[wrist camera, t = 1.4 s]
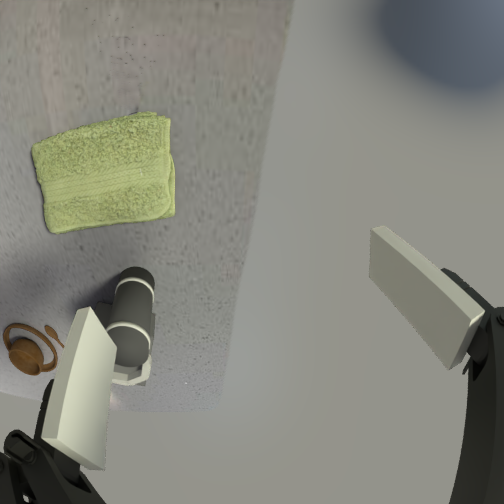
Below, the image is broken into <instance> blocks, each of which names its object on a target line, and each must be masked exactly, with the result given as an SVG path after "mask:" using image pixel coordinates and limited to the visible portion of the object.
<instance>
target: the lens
mask: <svg viewBox="0 0 504 504" xmlns="http://www.w3.org/2000/svg"><path fill="white" fill-rule="evenodd" d="M154 284H155V282H154V278H153V276H152V275H151V273H150V272H149V271H147V270H146V269H144V268H141V267H130V268H127V269H126V270H124V271H123V272H122V274H121V276H120V279H119V283H118V285H117V287H116V291H115V297H114V301H113V305H112V309H111V313H110V317H109V321H108V325H107V329H106V332H107V333H108V335H109V336H110V338H111V339H112V341H113V342H114V344H115V345H116V347H117V351H116V358H115V364H117V365H120V366H123V367H137V366H140V365H142V364H144V363H145V362H146V361H147V359H148V357H149V349H150V327H151V315H152V304H153V301H154Z"/></svg>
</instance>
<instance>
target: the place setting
mask: <svg viewBox="0 0 504 504" xmlns="http://www.w3.org/2000/svg"><path fill="white" fill-rule="evenodd" d="M11 328H21V329H25V330H27V331H30V332H32V333H33V334H35V335H37V336H38V337H39V338H41V339H42V340H43V341H44V342H45V343H46V344H47V345H48V346H49V347H50V349H51V350H52V352H53V354H54V359H53V361H52V362H51V363H49V364H45V365H43V362H44V357H43V354H42V352H41V350H40V349H39V347H38V345H37V344H36V343H35V342H33V341H31V340H29V339H18V340H16V341H15V342H14V343H13V345H12V344H11V342H10V339H9V331H10V330H11ZM45 330H46V332H47V334H48V335H49V336H51V337H52V338H54V339H55V340H56V341H57V342H58V343H59V344H60V345H61V346H62V347H63V348H64V345H63V344H62V343H61V342H60V341H59V339H58V336H57V333H56V332H55V331H54V330H53V329H52V328H51V327H49V326H45ZM3 340H4V343H5V346H6V348H7V349H8V351H9V358H10V360H11V362H12V363H13V365H14V366H15V367H16V368H17V369H19V370H20V371H22V372H24V373H26V374H28V375H39V374H40V372H48V371H51V370H53V369H54V368H55V367H56V365H57V359H58V358H57V353H56V350H55V348H54V346H53V345H52V343H51V342H50V341H49V340H48V339H47V338H46V337H45V336H44V335H43V334H42V333H41V332H39V331H38V330H36V329H34V328H32V327H30V326H28V325H24V324H12V325H10V326H8V327H7V328H6V330H5V332H4V334H3Z"/></svg>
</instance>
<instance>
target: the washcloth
mask: <svg viewBox="0 0 504 504" xmlns="http://www.w3.org/2000/svg"><path fill="white" fill-rule="evenodd" d="M170 122H171V120H170V118H165V115H164V116H157V113H156V112H150V111H149V112H141V113H139V112H137V114H134V115H131V116H123V117H120V118H113V119H109V120H108V121H101V122H98V123H93V124H91V125H86V126H80V127H79V128H77V129H73V130H72V129H71V130H68V131H66V132H63V133H59V134H57V135H55V136H52V137H48V138H47V139H46V140H41V142H37V143H35V144H34V145H33V147H32V148H31V149H32V150H31V151H32V156H33V161H34V165H35V167H36V173H37V180H38V182H39V183H40V185H41V189H42V193H43V196H44V205H43V207H44V210H43V211H44V212H45V213H44V215H45V222H46V225H47V227H48V229H49V231H50V232H52V233H55V234H60V233H67V232H68V231H75V230H77V231H78V230H80V229H81V230H83V229H87V228H96V227H99V226H109V225H114V224H123V223H124V222H129V223H131V222H133V223H137V222H146V221H153V220H156V219H163V218H165V219H166V218H167V217H172V216H174V215H175V202H174V192H175V169H174V163H173V159H172V157H171V154H170Z"/></svg>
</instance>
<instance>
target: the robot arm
mask: <svg viewBox="0 0 504 504" xmlns="http://www.w3.org/2000/svg"><path fill="white" fill-rule="evenodd" d="M369 277H370V278H371V280H372V281H373V282H374V283H375V284H376V285H377V286H378V287H379V289H380V290H381V291H382V292H383V293H384V294H385V295H386V296H387V297H388V298H389V299H390V301H391V302H392V303H393V304H394V305H395V307H396V308H397V309H398V310H399V311H400V312H401V313H402V315H403V316H404V317H405V318H406V319H407V320H408V322H409V323H410V324H411V325H412V326H413V328H414V329H415V330H416V331H417V332H418V334H419V335H420V336H421V337H422V338H423V340H424V341H425V342H426V343H427V344H428V346H429V347H430V348H431V349H432V351H433V352H434V353H435V354H436V356H437V357H438V358H439V359H440V361H441V362H442V363H443V365H444V366H445V367H446V368H447V370H450V369H452V368H453V367H455V366H456V365H458V364H459V363H461V362H462V360H463V358H464V356H465V354H466V352H467V353H468V354H469V355H470V356H471V357H470V359H469V360H468V362H467V364H466V366H465V368H464V369H463V373H462V374H465V373H466V371H467V369H468V368H469V372H468V397H467V409H466V420H465V428H464V436H463V443H462V449H461V455H460V460H459V465H458V470H457V475H456V479H455V483H454V487H453V491H452V495H451V498H450V502H449V504H504V307H497V308H494V307H492V306H491V305H490V304H489V303H488V302H487V301H486V300H485V299H484V298H483V297H482V296H481V295H479V294H478V293H477V292H476V291H475V290H474V289H473V288H472V287H471V288H470V286H469V285H468V284H467V283H466V282H464V281H463V279H461V278H460V277H459V276H458V275H457V274H456V273H454V272H452V271H450V270H447V269H445V268H443V269H441V270H439V268H437V267H436V266H435V265H434V264H433V263H431V262H430V261H429V260H428V259H427V258H425V257H424V256H423V255H422V254H420V253H419V252H418V251H417V250H416V249H414V248H413V247H412V246H410V245H409V244H408V243H407V242H405V241H404V240H403V239H402V238H400V237H399V236H397V235H396V234H395V233H394V232H392V231H391V230H390V229H388V228H387V227H386V226H384V225H382V226H379V227H376V228H372V229H371V238H370V268H369ZM116 351H117V347H116V345H115V344H114V342H113V341H112V339H111V338H110V336H109V335H108V333H107V332H106V330H105V329H104V327H103V326H102V324H101V323H100V321H99V320H98V318H97V316H96V315H95V313H94V312H93V310H92V308H91V307H86V308H82V309H79V310H77V312H76V315H75V318H74V320H73V323H72V326H71V329H70V331H69V334H68V337H67V340H66V343H65V346H64V349H63V352H62V355H61V359H60V362H59V365H58V369H57V372H56V376H55V379H51V380H50V382H49V384H48V385H47V387H46V389H45V391H44V395H43V399H42V400H43V402H42V403H41V407H40V409H41V410H40V412H39V415H38V420H37V425H36V429H35V435H34V439H31V438H30V437H29V436H28V435H26V434H25V433H24V432H22V431H20V430H13V431H12V432H10V433H9V434H8V436H7V437H6V439H5V442H4V453H1V452H0V504H106V503H105V502H104V500H103V499H102V498H101V497H100V495H99V494H98V493H97V491H96V490H95V489H94V487H93V486H92V484H91V483H90V482H89V480H88V479H87V477H86V476H85V475H84V474H83V473H82V472H81V471H80V465H82V466H84V467H85V468H87V469H89V470H105V457H106V437H107V423H108V413H109V403H110V394H111V386H112V378H113V371H114V364H115V358H116ZM5 454H6V455H7V456H6V455H5ZM8 456H9V457H10V458H9V457H8ZM23 495H25V496H27V497H28V499H29V503H28V502H26V501H24V498H23Z"/></svg>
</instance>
